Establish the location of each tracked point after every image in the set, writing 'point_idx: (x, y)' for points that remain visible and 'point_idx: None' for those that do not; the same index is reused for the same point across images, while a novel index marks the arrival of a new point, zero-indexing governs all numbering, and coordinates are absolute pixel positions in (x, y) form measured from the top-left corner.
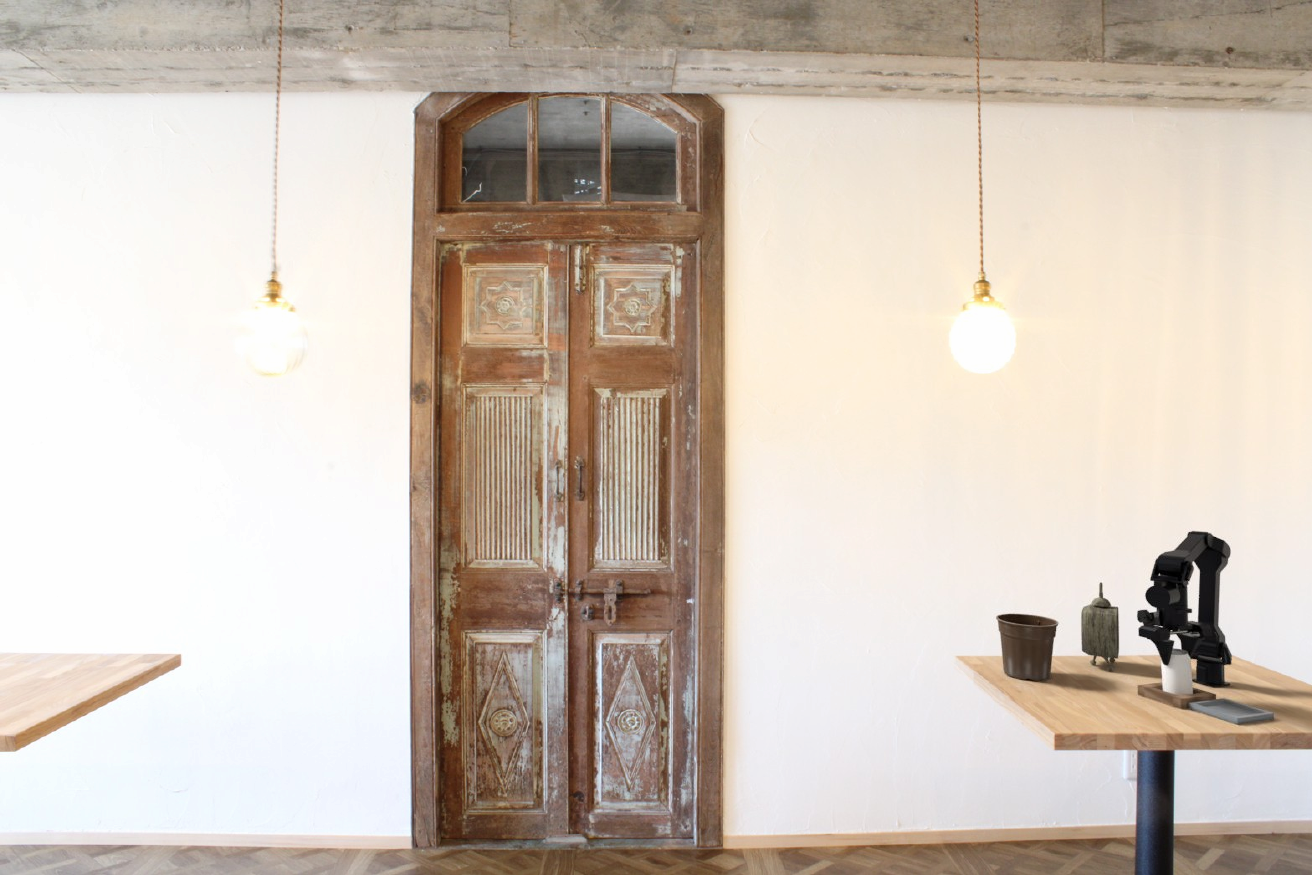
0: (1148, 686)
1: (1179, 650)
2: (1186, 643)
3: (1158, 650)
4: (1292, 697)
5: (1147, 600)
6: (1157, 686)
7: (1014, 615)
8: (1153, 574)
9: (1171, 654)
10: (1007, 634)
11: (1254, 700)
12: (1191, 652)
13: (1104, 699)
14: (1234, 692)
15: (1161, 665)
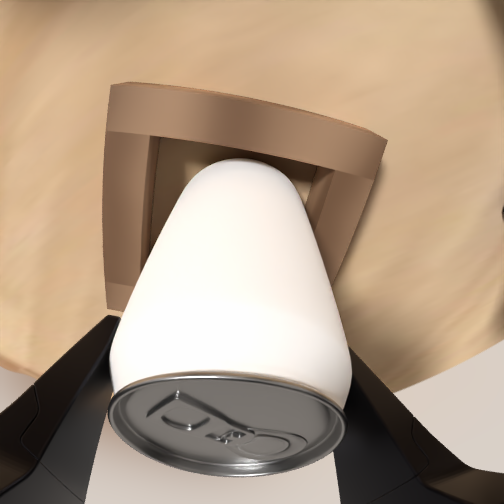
0: (144, 128)
1: (336, 423)
2: (378, 497)
3: (25, 398)
4: (497, 335)
5: None
6: (210, 141)
7: None
8: None
9: (125, 431)
10: None
11: (432, 325)
12: (334, 456)
13: None
14: (483, 265)
15: (157, 257)
